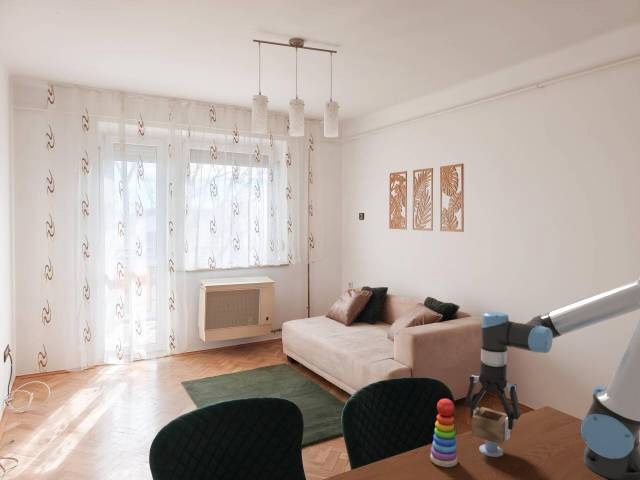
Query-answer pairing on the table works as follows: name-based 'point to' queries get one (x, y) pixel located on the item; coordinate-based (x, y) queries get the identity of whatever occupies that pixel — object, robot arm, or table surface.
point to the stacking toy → (444, 436)
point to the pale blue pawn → (491, 449)
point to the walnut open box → (489, 425)
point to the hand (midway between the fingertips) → (491, 433)
